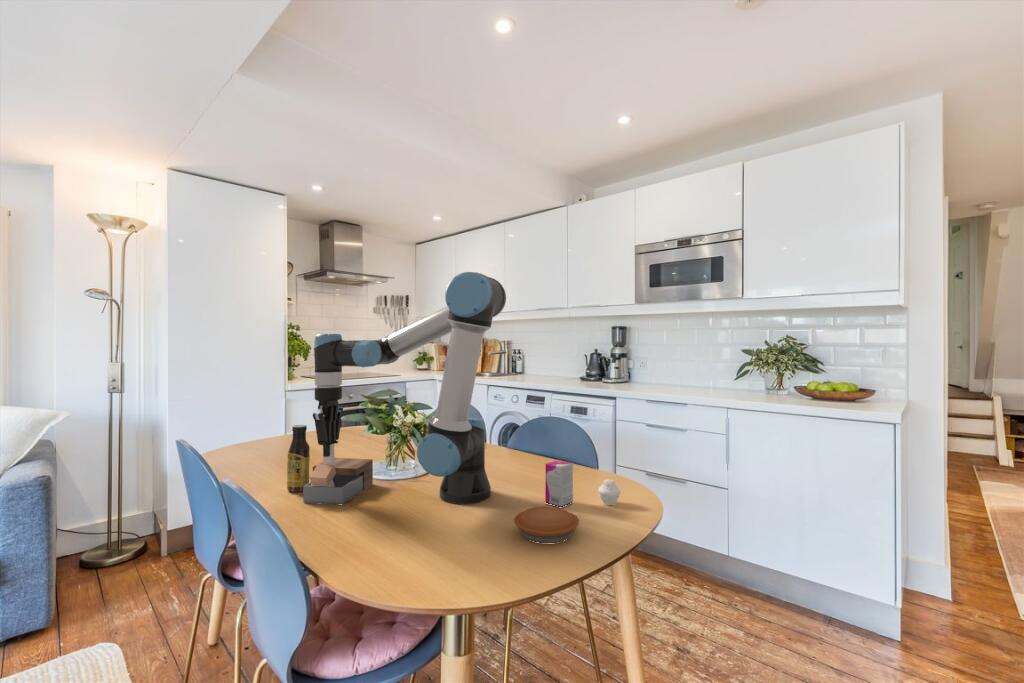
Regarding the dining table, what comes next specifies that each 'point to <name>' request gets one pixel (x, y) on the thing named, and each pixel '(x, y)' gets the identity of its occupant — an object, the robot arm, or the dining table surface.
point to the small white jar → (609, 492)
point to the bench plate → (355, 469)
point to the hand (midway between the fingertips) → (328, 466)
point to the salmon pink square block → (322, 475)
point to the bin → (334, 490)
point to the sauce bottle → (298, 460)
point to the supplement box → (559, 483)
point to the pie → (546, 524)
